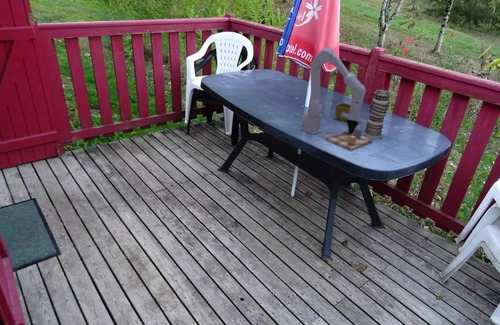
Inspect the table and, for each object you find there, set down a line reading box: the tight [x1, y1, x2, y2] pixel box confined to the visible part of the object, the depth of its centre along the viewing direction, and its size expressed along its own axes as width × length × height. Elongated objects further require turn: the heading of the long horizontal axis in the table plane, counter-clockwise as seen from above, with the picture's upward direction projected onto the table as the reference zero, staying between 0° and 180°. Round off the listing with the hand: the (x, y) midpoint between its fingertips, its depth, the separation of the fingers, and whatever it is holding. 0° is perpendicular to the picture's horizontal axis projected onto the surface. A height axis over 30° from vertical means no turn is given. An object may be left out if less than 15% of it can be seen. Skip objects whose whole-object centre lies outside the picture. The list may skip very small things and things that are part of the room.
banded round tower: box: [364, 88, 391, 139], centre depth 191 cm, size 9×9×25 cm
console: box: [325, 129, 373, 152], centre depth 187 cm, size 16×19×2 cm
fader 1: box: [347, 135, 357, 144], centre depth 180 cm, size 3×3×4 cm
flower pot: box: [334, 102, 351, 122], centre depth 214 cm, size 9×9×9 cm
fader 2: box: [353, 128, 363, 138], centre depth 188 cm, size 3×3×4 cm
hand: (350, 133), depth 191 cm, fingers closed
